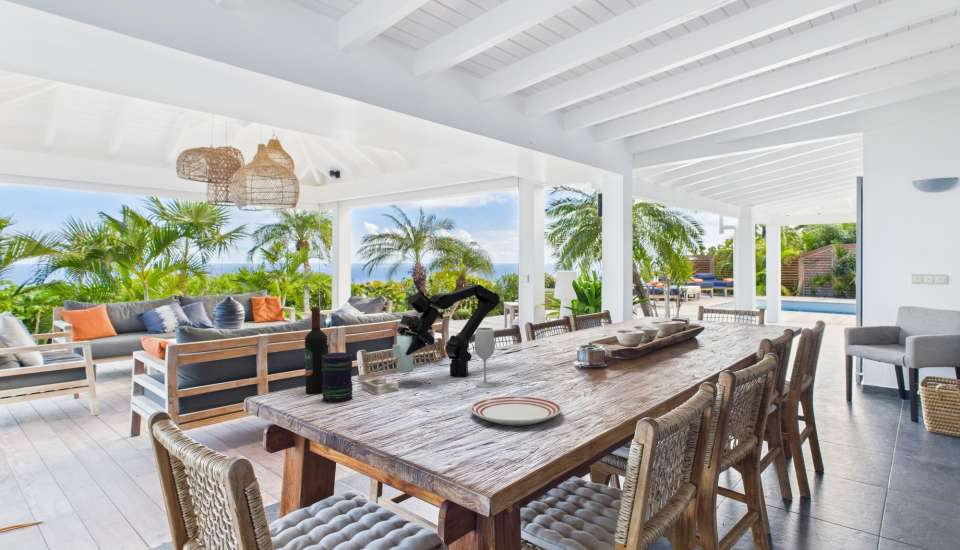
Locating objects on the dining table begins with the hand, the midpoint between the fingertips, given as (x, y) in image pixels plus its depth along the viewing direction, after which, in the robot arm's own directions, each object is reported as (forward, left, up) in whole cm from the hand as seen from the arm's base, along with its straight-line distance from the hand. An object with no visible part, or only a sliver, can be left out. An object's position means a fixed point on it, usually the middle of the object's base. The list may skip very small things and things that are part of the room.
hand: (402, 353), depth 190 cm
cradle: (+6, +7, -12) cm, 15 cm away
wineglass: (-30, -7, -12) cm, 33 cm away
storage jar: (+15, +21, -12) cm, 29 cm away
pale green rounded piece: (0, 0, -7) cm, 7 cm away
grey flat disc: (-1, -1, -12) cm, 12 cm away
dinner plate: (-46, +28, -12) cm, 55 cm away
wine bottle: (+27, +13, -12) cm, 33 cm away
